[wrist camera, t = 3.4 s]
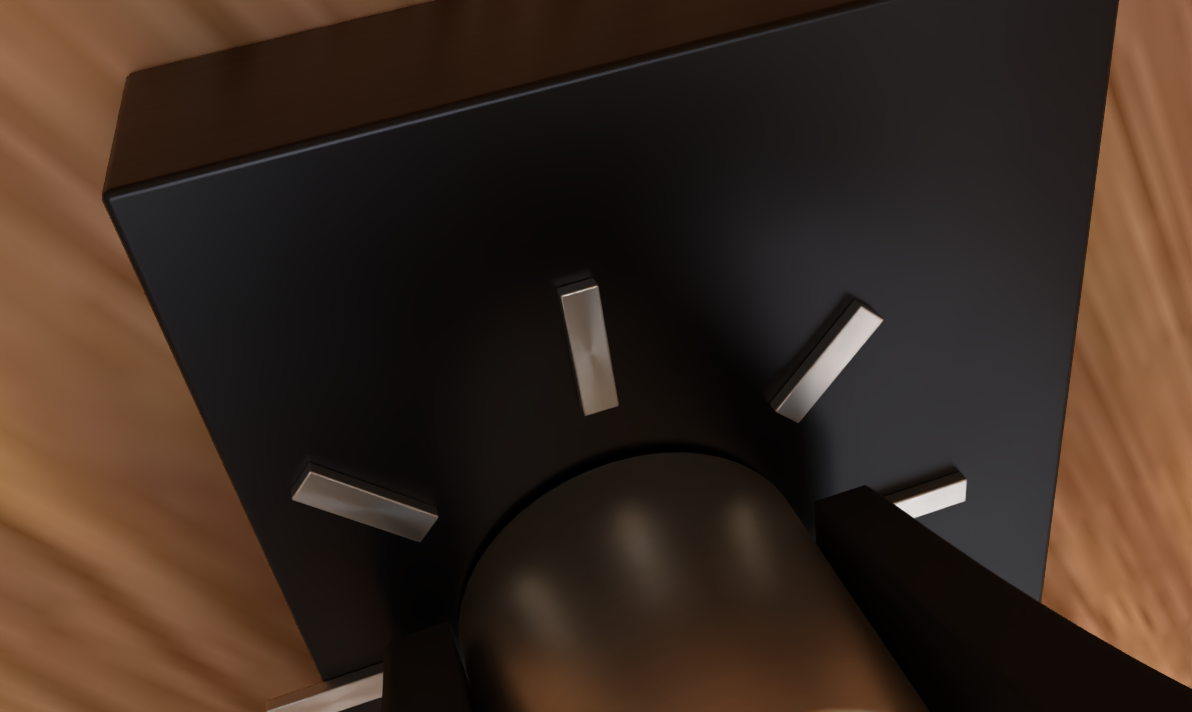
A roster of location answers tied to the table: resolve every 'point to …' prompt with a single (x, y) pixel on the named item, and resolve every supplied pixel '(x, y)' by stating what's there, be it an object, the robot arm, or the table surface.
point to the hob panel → (615, 272)
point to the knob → (669, 602)
